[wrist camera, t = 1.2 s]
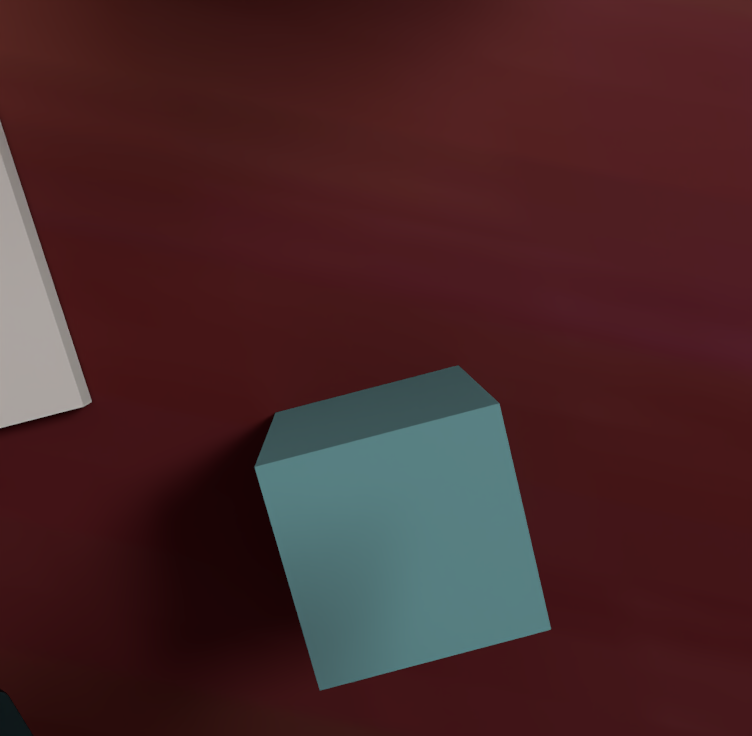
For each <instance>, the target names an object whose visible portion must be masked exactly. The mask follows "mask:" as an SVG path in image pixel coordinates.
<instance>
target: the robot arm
mask: <svg viewBox="0 0 752 736" xmlns="http://www.w3.org/2000/svg"><path fill="white" fill-rule="evenodd" d="M0 736H33V734H32V733H31V731H30V729H29V728H28V726H27V724H26V723H25V721H24V720H23V718H22V716H21V715H20V713H19V712H18V710H17V708H16V707H15V705H14V703H13V702H12V700H11V699H10V697H9V696H8V695H7V693H6V692H4V691H3V690H1V689H0Z"/></svg>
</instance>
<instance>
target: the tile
mask: <svg viewBox="0 0 752 736" xmlns="http://www.w3.org/2000/svg"><path fill="white" fill-rule="evenodd" d="M91 402H92V400H91V397H90V394H89V391H88V388H87V385H86V382H85V379H84V376H83V373H82V370H81V367H80V364H79V361H78V358H77V355H76V351H75V348H74V345H73V342H72V339H71V336H70V333H69V330H68V327H67V324H66V321H65V318H64V315H63V312H62V309H61V306H60V302H59V299H58V296H57V293H56V290H55V287H54V284H53V281H52V278H51V275H50V272H49V269H48V266H47V263H46V260H45V257H44V253H43V250H42V247H41V244H40V241H39V238H38V235H37V232H36V229H35V226H34V223H33V220H32V217H31V214H30V211H29V208H28V204H27V201H26V198H25V195H24V192H23V189H22V186H21V183H20V180H19V177H18V174H17V171H16V168H15V165H14V162H13V159H12V155H11V152H10V149H9V146H8V143H7V140H6V137H5V134H4V131H3V128H2V125H1V122H0V428H3V427H7V426H11V425H15V424H18V423H22V422H26V421H30V420H34V419H38V418H42V417H46V416H50V415H53V414H57V413H61V412H65V411H69V410H73V409H77V408H81V407H84V406H86V405H88V404H89V403H91Z"/></svg>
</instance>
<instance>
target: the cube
mask: <svg viewBox="0 0 752 736" xmlns="http://www.w3.org/2000/svg"><path fill="white" fill-rule="evenodd" d="M255 471H256V474H257V477H258V481H259V484H260V488H261V491H262V495H263V498H264V501H265V505H266V508H267V512H268V515H269V518H270V522H271V525H272V529H273V532H274V536H275V539H276V542H277V546H278V549H279V553H280V556H281V559H282V563H283V566H284V570H285V573H286V577H287V580H288V583H289V587H290V590H291V594H292V597H293V600H294V604H295V607H296V611H297V614H298V618H299V621H300V624H301V628H302V631H303V635H304V638H305V642H306V645H307V648H308V652H309V655H310V659H311V662H312V665H313V669H314V672H315V676H316V679H317V683H318V686H319V689H320V690H324V689H328V688H331V687H335V686H339V685H343V684H346V683H350V682H354V681H358V680H362V679H365V678H369V677H373V676H377V675H381V674H384V673H388V672H392V671H396V670H399V669H403V668H407V667H411V666H415V665H418V664H422V663H426V662H430V661H434V660H437V659H441V658H445V657H449V656H452V655H456V654H460V653H464V652H468V651H471V650H475V649H479V648H483V647H487V646H490V645H494V644H498V643H502V642H506V641H509V640H513V639H517V638H521V637H524V636H528V635H532V634H536V633H540V632H543V631H547V630H551V627H550V622H549V618H548V614H547V609H546V605H545V601H544V596H543V592H542V588H541V583H540V579H539V574H538V570H537V566H536V561H535V557H534V553H533V548H532V544H531V540H530V535H529V531H528V526H527V522H526V518H525V513H524V509H523V505H522V500H521V496H520V492H519V487H518V483H517V478H516V474H515V470H514V465H513V461H512V457H511V452H510V448H509V444H508V439H507V435H506V430H505V426H504V422H503V417H502V413H501V409H500V404H499V403H498V402H497V401H496V400H495V399H494V398H493V397H492V396H491V395H490V394H489V393H488V392H486V391H485V390H484V389H483V388H482V387H481V386H480V385H479V384H478V383H477V382H476V381H475V380H474V379H472V378H471V377H470V376H469V375H468V374H467V373H466V372H465V371H464V370H463V369H462V368H461V367H459V366H454V367H450V368H446V369H443V370H439V371H435V372H431V373H427V374H423V375H419V376H416V377H412V378H408V379H404V380H400V381H396V382H392V383H388V384H385V385H381V386H377V387H373V388H369V389H365V390H361V391H358V392H354V393H350V394H346V395H342V396H338V397H334V398H331V399H327V400H323V401H319V402H315V403H311V404H307V405H304V406H300V407H296V408H292V409H288V410H284V411H280V412H276V413H275V415H274V418H273V421H272V423H271V426H270V428H269V431H268V433H267V436H266V439H265V441H264V444H263V446H262V449H261V451H260V454H259V457H258V459H257V462H256V464H255Z"/></svg>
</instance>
